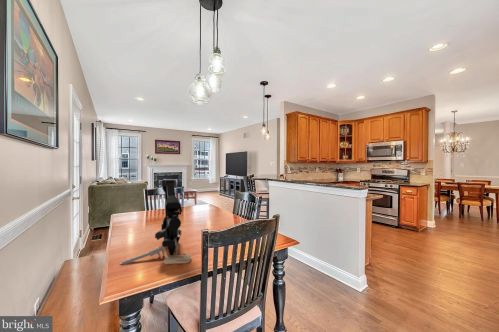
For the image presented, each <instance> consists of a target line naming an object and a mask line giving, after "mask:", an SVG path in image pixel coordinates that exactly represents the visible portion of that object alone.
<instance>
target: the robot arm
mask: <svg viewBox="0 0 499 332" xmlns="http://www.w3.org/2000/svg"><path fill="white" fill-rule="evenodd" d="M160 186H161V189H162V190H163V192H164V217H163V219H162V223H161V227H160V230H159V231H157V232H156V233H155V234H154V238H155V239H156V240H157V241H158V240H160V239H162V238H163V241H162V242H161V244H162V245H161V246H162V247H163V248H167V247H168V249H169V252H170V255H171V256H172V255H173V253H174V250H175V248H176V245H177V243H179V241H180V239H181V236H182V230H181V229H179V228H180V227H181V226H182V221H181V220H180V217H179V216H181V215H182V212H183V209H182V204H181V202H180V201H179V198H178V197H176V189H175V187H176V186H177V179H176V180H175V179H174V178H163V179H162V180H160Z"/></svg>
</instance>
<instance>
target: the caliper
mask: <svg viewBox="0 0 499 332" xmlns="http://www.w3.org/2000/svg"><path fill="white" fill-rule="evenodd" d="M164 248H165V247H162V245H158V247H156V248H154V249H152V250H149V251H147V252H145V253H142V254H140V255H136V256H135V257H132V258H131V257H130V258H129V259H125V260H123V261H122V262H120V263H119V266H121V265H127V264H130V263H133V262H135V261H138V260H141V259H143V258H147V257H153V256H155V255H156V254H157V256H158V257H159V258H161V254H162V255H163V257H164V256H165V249H164Z"/></svg>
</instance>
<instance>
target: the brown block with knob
mask: <svg viewBox="0 0 499 332" xmlns="http://www.w3.org/2000/svg"><path fill="white" fill-rule="evenodd" d="M178 243H179V242H178ZM178 243H177V245H176V248H175V250H174V253H173V255H172V256H175V255H179V249H178V248H179V246H178V245H179V244H178ZM166 256H171V255H170V252H169V249H168V247H166Z"/></svg>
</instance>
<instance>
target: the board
mask: <svg viewBox="0 0 499 332" xmlns="http://www.w3.org/2000/svg"><path fill="white" fill-rule="evenodd" d="M191 256H192V255H191V254H178V255H175V256H167V255H166V257H165V258H164V265H169V264H171V265H173V264H187V263H190V261H191Z"/></svg>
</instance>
